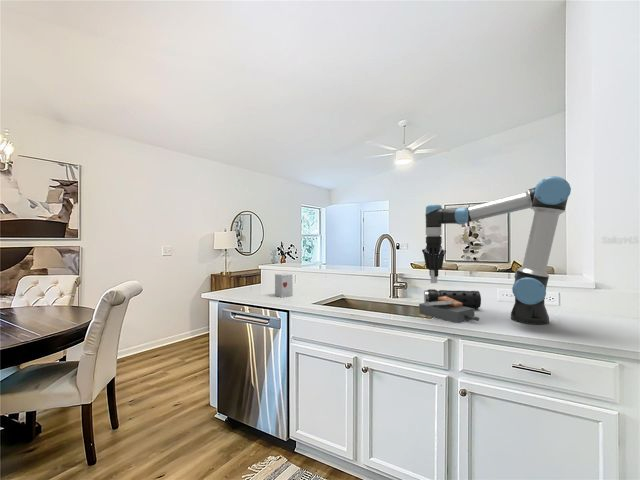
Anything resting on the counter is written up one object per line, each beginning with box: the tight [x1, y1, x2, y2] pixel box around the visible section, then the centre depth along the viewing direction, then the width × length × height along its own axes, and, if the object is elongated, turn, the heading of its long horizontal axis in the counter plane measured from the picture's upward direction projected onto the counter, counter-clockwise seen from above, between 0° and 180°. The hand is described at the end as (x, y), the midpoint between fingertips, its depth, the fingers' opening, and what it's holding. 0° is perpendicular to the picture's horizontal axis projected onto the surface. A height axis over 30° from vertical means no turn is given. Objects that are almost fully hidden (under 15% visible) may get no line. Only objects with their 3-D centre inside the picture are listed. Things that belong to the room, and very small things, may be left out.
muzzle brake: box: [423, 288, 482, 310], centre depth 178 cm, size 10×28×10 cm, turn 78°
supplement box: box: [274, 272, 293, 298], centre depth 220 cm, size 9×9×15 cm
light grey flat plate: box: [429, 301, 454, 305], centre depth 159 cm, size 10×6×1 cm, turn 32°
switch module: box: [418, 301, 480, 324], centre depth 158 cm, size 28×13×6 cm, turn 32°
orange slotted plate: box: [438, 296, 463, 307], centre depth 163 cm, size 10×6×1 cm, turn 33°
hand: (433, 282), depth 162 cm, fingers closed
